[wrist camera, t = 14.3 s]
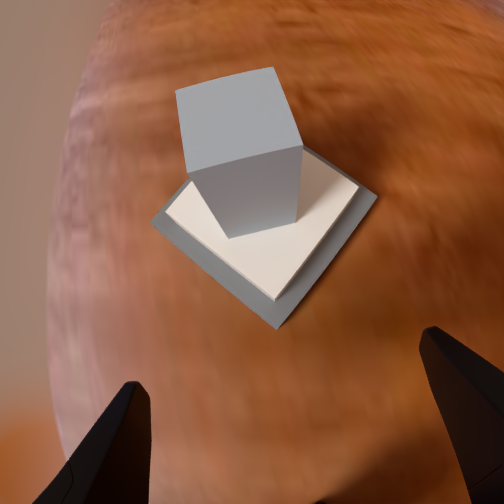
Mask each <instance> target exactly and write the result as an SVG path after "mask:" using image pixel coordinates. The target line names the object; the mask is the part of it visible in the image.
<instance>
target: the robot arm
mask: <svg viewBox="0 0 504 504" xmlns="http://www.w3.org/2000/svg"><path fill="white" fill-rule="evenodd" d="M419 352H420V355H421V358H422V361H423V364H424V368H425V371H426V374H427V377H428V381H429V384H430V387H431V390H432V393H433V396H434V398H435V401H436V403H437V406H438V408H439V410H440V413H441V415H442V418H443V421H444V423H445V426H446V428H447V431H448V434H449V436H450V439H451V442H452V444H453V447H454V450H455V453H456V456H457V458H458V461H459V464H460V467H461V470H462V473H463V476H464V479H465V483H466V486H467V489H468V493H469V496H470V500H471V503H472V504H504V372H502V371H501V370H499V369H498V368H497V367H495V366H494V365H492V364H491V363H490V362H488V361H487V360H485V359H484V358H482V357H481V356H479V355H478V354H477V353H475V352H474V351H472V350H471V349H469V348H468V347H466V346H465V345H464V344H462V343H461V342H459V341H458V340H456V339H455V338H453V337H452V336H450V335H449V334H447V333H446V332H444V331H443V330H441V329H440V328H438V327H437V326H432V327H429V328H426V329H424V331H423V333H422V337H421V341H420V344H419ZM151 442H152V440H151V408H150V397H149V395H148V393H147V392H146V390H145V389H144V388H143V386H142V385H141V384H140V382H138V381H128V382H126V383H125V384H124V385H123V386H122V388H121V389H120V390H119V392H118V393H117V394H116V396H115V397H114V398H113V400H112V401H111V402H110V404H109V405H108V406H107V408H106V409H105V411H104V412H103V413H102V415H101V416H100V417H99V419H98V420H97V421H96V423H95V424H94V425H93V427H92V428H91V429H90V431H89V432H88V433H87V435H86V436H85V438H84V439H83V440H82V442H81V443H80V444H79V446H78V447H77V448H76V450H75V451H74V453H73V454H72V455H71V457H70V458H69V460H68V461H67V462H66V463H65V465H64V466H63V468H62V469H61V470H60V472H59V473H58V474H57V476H56V477H55V478H54V479H53V481H52V482H51V483H50V484H49V485H48V487H47V488H46V489H45V490H44V491H43V492H42V493H41V494H40V495H39V496H38V497H37V499H36V500H35V501H34V502H33V503H32V504H148V503H149V477H150V459H151ZM316 504H326V503H324V502H318V503H316Z"/></svg>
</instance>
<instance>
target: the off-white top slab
mask: <svg viewBox="0 0 504 504" xmlns="http://www.w3.org/2000/svg"><path fill="white" fill-rule="evenodd" d="M358 188H359V187H358V186H357V185H356V184H354V183H353V182H351V181H350V180H349V179H347V178H346V177H344V176H343V175H341V174H340V173H338V172H337V171H336V170H334V169H333V168H331V167H330V166H328V165H327V164H325V163H324V162H322V161H321V160H319V159H318V158H316V157H315V156H313V155H311V154H310V153H308V152H307V151H305V150H304V149H303V154H302V164H301V174H300V184H299V194H298V203H297V212H296V221H295V223H292V224H288V225H284V226H280V227H276V228H271V229H267V230H263V231H259V232H255V233H251V234H247V235H243V236H239V237H235V238H231V239H228V238H227V236H226V235H225V233H224V231H223V230H222V228H221V227H220V225H219V223H218V222H217V220H216V219H215V217H214V215H213V214H212V212H211V211H210V209H209V207H208V206H207V204H206V203H205V201H204V199H203V198H202V196H201V195H200V193H199V191H198V190H197V188H196V186H195V185H194V183H193V182H192V181H191V182H190V183H189V185H188V186H187V187H186V188H185V189H184V190H183V191H182V193H181V194H180V195H179V196H178V197H177V198H176V200H175V201H174V202H173V203H172V204H171V205H170V207H169V208H168V209H167V210H166V211H165V212H166V213H167V214H168V215H169V216H170V217H171V218H172V219H173V220H174V221H175V222H176V223H177V224H178V225H179V226H180V227H182V228H183V229H184V230H185V231H186V232H188V233H189V234H190V235H191V236H193V237H194V238H195V239H196V240H198V241H199V242H200V243H201V244H203V245H204V246H205V247H206V248H208V249H209V250H210V251H211V252H213V253H214V254H215V255H216V256H218V257H219V258H220V259H221V260H223V261H224V262H225V263H226V264H228V265H229V266H230V267H231V268H233V269H234V270H235V271H236V272H238V273H239V274H240V275H242V276H243V277H244V278H245V279H247V280H248V281H249V282H250V283H252V284H253V285H254V286H256V287H257V288H258V289H259V290H261V291H262V292H263V293H264V294H266V295H267V296H268V297H270V298H271V299H272V300H273V301H276V300H277V299H278V298H279V296H280V295H281V294H282V293H283V291H284V290H285V289H286V287H287V286H288V285H289V284H290V282H291V281H292V280H293V278H294V277H295V276H296V274H297V273H298V272H299V271H300V269H301V268H302V267H303V265H304V264H305V263H306V261H307V260H308V259H309V258H310V256H311V255H312V254H313V252H314V251H315V250H316V248H317V247H318V246H319V244H320V243H321V242H322V240H323V239H324V238H325V236H326V235H327V234H328V232H329V231H330V229H331V228H332V227H333V225H334V224H335V223H336V221H337V220H338V219H339V217H340V216H341V215H342V213H343V212H344V210H345V209H346V208H347V206H348V205H349V203H350V202H351V201H352V199H353V197H354V195H355V193H356V192H357V190H358Z"/></svg>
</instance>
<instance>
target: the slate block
mask: <svg viewBox="0 0 504 504" xmlns="http://www.w3.org/2000/svg"><path fill="white" fill-rule="evenodd" d="M175 91H176V99H177V107H178V114H179V121H180V129H181V136H182V142H183V149H184V156H185V162H186V169H187V174H188V175H189V177H190V178H191V180H192V182H193V183H194V185H195V186H196V188H197V190H198V191H199V193H200V195H201V196H202V198H203V199H204V201H205V203H206V204H207V206H208V207H209V209H210V211H211V212H212V214H213V215H214V217H215V219H216V220H217V222H218V223H219V225H220V227H221V228H222V230H223V231H224V233H225V235H226V236H227V238H228V239H231V238H235V237H239V236H243V235H247V234H251V233H255V232H259V231H263V230H267V229H271V228H276V227H280V226H284V225H288V224H292V223H295V221H296V212H297V203H298V194H299V184H300V174H301V164H302V154H303V142H302V140H301V137H300V134H299V131H298V129H297V126H296V123H295V121H294V118H293V115H292V113H291V110H290V108H289V105H288V102H287V100H286V97H285V95H284V92H283V90H282V87H281V85H280V82H279V80H278V77H277V75H276V73H275V70H274V68H273V67H268V68H263V69H258V70H253V71H248V72H244V73H239V74H235V75H230V76H226V77H222V78H218V79H214V80H210V81H207V82H203V83H199V84H196V85H192V86H189V87H185V88H182V89H179V90H175Z"/></svg>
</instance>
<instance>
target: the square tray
mask: <svg viewBox="0 0 504 504" xmlns="http://www.w3.org/2000/svg"><path fill="white" fill-rule="evenodd" d="M303 149H304V150H305V151H307V152H308V153H310V154H311V155H313V156H315V157H316V158H318V159H319V160H321V161H322V162H324V163H325V164H327V165H328V166H330V167H331V168H333V169H334V170H336V171H337V172H338V173H340V174H341V175H343V176H344V177H346V178H347V179H349V180H350V181H351V182H353V183H354V184H356V185H357V186H358V187H359V188H358V190H357V192H356V193H355V195H354V197H353V199H352V201H351V202H350V203H349V205H348V206H347V208H346V209H345V210H344V212H343V213H342V215H341V216H340V217H339V219H338V220H337V221H336V223H335V224H334V225H333V227H332V228H331V229H330V231H329V232H328V234H327V235H326V236H325V238H324V239H323V240H322V242H321V243H320V244H319V246H318V247H317V248H316V250H315V251H314V252H313V254H312V255H311V256H310V258H309V259H308V260H307V261H306V263H305V264H304V265H303V267H302V268H301V269H300V271H299V272H298V273H297V274H296V276H295V277H294V278H293V280H292V281H291V282H290V284H289V285H288V286H287V287H286V289H285V290H284V291H283V293H282V294H281V295H280V296H279V298H278V299H277V300H276V301H273V300H272V299H271V298H270V297H268V296H267V295H266V294H264V293H263V292H262V291H261V290H259V289H258V288H257V287H256V286H254V285H253V284H252V283H250V282H249V281H248V280H247V279H245V278H244V277H243V276H242V275H240V274H239V273H238V272H236V271H235V270H234V269H233V268H231V267H230V266H229V265H228V264H226V263H225V262H224V261H223V260H221V259H220V258H219V257H218V256H216V255H215V254H214V253H213V252H211V251H210V250H209V249H208V248H206V247H205V246H204V245H203V244H201V243H200V242H199V241H198V240H196V239H195V238H194V237H193V236H191V235H190V234H189V233H188V232H186V231H185V230H184V229H183V228H182V227H180V226H179V225H178V224H177V223H176V222H175V221H174V220H173V219H172V218H171V217H170V216H169V215H168V214H167V213H166V212H165V211H166V210H167V209H168V208H169V207H170V205H171V204H172V203H173V202H174V201H175V200H176V198H177V197H178V196H179V195H180V194H181V193H182V191H183V190H184V189H185V188H186V187H187V186H188V185H189V183H190V182H191V181H192V180H191V178H190V177H189V178H188V180H187V181H186V182H185V183H184V184H183V185H182V186H181V187H180V188H179V190H178V191H177V192H176V193H175V194H174V195H173V196H172V197H171V199H170V200H169V201H168V202H167V203H166V204H165V205H164V207H163V208H162V209H161V210H160V211H159V212H158V214H157V215H156V216H155V217H154V218H153V220H152V221H151V222H150V224H151V225H152V226H154V227H155V228H156V229H157V230H158V231H159V232H160V233H162V234H163V235H164V236H165V237H166V238H167V239H168V240H170V241H171V242H172V243H173V244H174V245H175V246H176V247H178V248H179V249H180V250H181V251H182V252H183V253H184V254H186V255H187V256H188V257H189V258H190V259H191V260H193V261H194V262H195V263H196V264H197V265H198V266H200V267H201V268H202V269H203V270H204V271H206V272H207V273H208V274H209V275H210V276H211V277H213V278H214V279H215V280H216V281H217V282H219V283H220V284H221V285H222V286H223V287H225V288H226V289H227V290H228V291H229V292H231V293H232V294H233V295H234V296H235V297H237V298H238V299H239V300H240V301H241V302H243V303H244V304H245V305H246V306H248V307H249V308H250V309H251V310H252V311H254V312H255V313H256V314H257V315H259V316H260V317H261V318H262V319H264V320H265V321H266V322H267V323H269V324H270V325H271V326H272V327H274V328H275V329H276V330H277V329H278V328H279V327H280V326H281V324H282V323H283V322H284V321H285V319H286V318H287V317H288V316H289V314H290V313H291V312H292V311H293V309H294V308H295V307H296V306H297V304H298V303H299V302H300V301H301V299H302V298H303V297H304V296H305V294H306V293H307V292H308V291H309V289H310V288H311V287H312V285H313V284H314V283H315V282H316V280H317V279H318V278H319V276H320V275H321V274H322V272H323V271H324V270H325V268H326V267H327V266H328V265H329V263H330V262H331V261H332V259H333V258H334V257H335V255H336V254H337V253H338V251H339V250H340V248H341V247H342V246H343V244H344V243H345V242H346V240H347V239H348V238H349V236H350V235H351V234H352V232H353V231H354V229H355V228H356V227H357V225H358V224H359V222H360V221H361V220H362V218H363V217H364V215H365V214H366V213H367V211H368V210H369V208H370V207H371V205H372V204H373V203H374V201H375V200H376V198H377V197H378V196H376V195H375V194H374V193H372V192H371V191H370V190H368V189H367V188H365V187H364V186H363V185H361V184H360V183H359V182H357V181H356V180H355V179H353V178H352V177H350V176H349V175H348V174H346V173H345V172H343V171H342V170H340V169H339V168H338V167H336V166H335V165H333V164H332V163H330V162H329V161H327V160H326V159H324V158H323V157H321V156H320V155H318V154H317V153H315V152H314V151H312V150H311V149H309V148H308V147H306V146H305V145H303Z"/></svg>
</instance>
